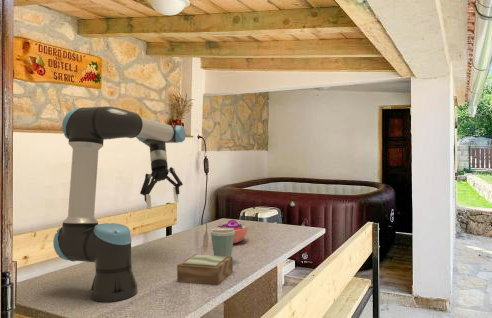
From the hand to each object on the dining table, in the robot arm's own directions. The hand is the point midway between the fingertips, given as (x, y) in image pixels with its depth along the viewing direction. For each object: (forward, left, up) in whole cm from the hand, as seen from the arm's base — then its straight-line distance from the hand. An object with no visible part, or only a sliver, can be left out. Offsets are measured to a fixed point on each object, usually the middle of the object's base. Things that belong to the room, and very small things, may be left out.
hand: (162, 205), depth 180 cm
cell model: (+37, -19, -24) cm, 48 cm away
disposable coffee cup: (0, -28, -24) cm, 37 cm away
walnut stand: (-19, -28, -24) cm, 42 cm away
